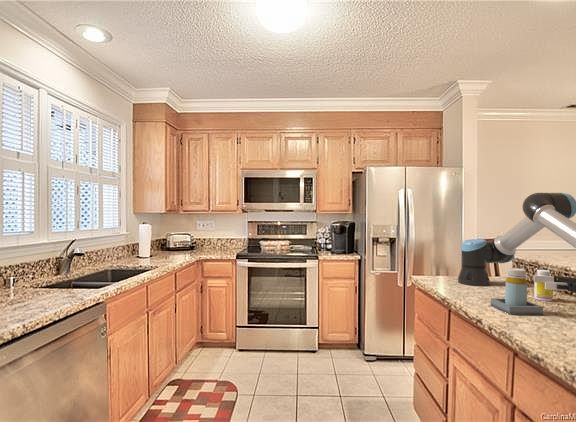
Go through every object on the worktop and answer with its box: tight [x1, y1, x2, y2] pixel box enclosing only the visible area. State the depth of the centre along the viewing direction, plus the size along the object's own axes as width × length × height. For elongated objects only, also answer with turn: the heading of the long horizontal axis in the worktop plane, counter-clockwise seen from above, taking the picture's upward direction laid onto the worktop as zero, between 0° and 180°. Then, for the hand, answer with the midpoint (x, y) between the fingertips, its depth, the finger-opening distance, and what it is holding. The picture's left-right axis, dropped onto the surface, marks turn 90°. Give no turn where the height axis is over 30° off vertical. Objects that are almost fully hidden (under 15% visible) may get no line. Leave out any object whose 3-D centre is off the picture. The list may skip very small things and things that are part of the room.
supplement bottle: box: [533, 269, 554, 302], centre depth 154 cm, size 7×7×13 cm
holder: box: [490, 297, 544, 316], centre depth 138 cm, size 12×12×3 cm
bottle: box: [504, 267, 528, 306], centre depth 138 cm, size 7×7×15 cm
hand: (539, 281), depth 135 cm, fingers open, 13 cm apart
